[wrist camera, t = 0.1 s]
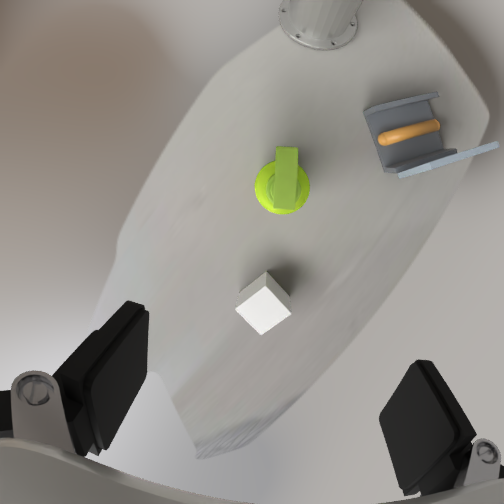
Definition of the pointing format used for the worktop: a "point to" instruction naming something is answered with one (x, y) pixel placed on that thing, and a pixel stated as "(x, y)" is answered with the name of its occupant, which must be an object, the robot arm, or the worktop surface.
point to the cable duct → (406, 133)
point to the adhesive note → (263, 303)
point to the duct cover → (448, 159)
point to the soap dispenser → (282, 183)
